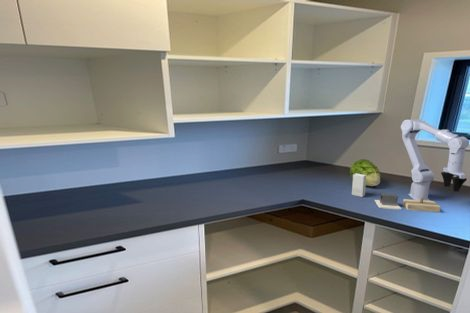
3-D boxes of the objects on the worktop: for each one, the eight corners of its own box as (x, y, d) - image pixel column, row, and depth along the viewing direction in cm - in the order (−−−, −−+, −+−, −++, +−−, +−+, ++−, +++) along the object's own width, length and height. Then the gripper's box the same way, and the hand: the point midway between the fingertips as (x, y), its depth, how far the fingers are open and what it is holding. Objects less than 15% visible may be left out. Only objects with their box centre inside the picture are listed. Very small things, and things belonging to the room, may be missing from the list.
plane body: (402, 204, 148) (404, 194, 147) (432, 206, 145) (434, 196, 144) (407, 209, 141) (409, 199, 140) (439, 212, 138) (441, 201, 137)
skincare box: (365, 195, 161) (367, 174, 158) (362, 197, 158) (364, 176, 155) (354, 193, 165) (356, 172, 162) (350, 194, 162) (352, 174, 159)
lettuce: (358, 193, 172) (369, 172, 164) (341, 173, 189) (351, 154, 182) (380, 195, 176) (392, 175, 169) (362, 175, 193) (372, 156, 186)
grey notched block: (379, 202, 150) (380, 192, 149) (394, 203, 148) (395, 194, 147) (381, 204, 146) (383, 195, 145) (396, 206, 144) (398, 196, 143)
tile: (374, 200, 153) (374, 199, 153) (394, 202, 151) (394, 201, 151) (379, 207, 144) (379, 206, 143) (401, 209, 141) (401, 208, 141)
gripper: (438, 158, 146) (434, 184, 148) (455, 165, 132) (450, 193, 134) (453, 159, 145) (449, 184, 147) (472, 165, 130) (467, 194, 133)
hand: (451, 188), depth 141 cm, fingers open, 7 cm apart
